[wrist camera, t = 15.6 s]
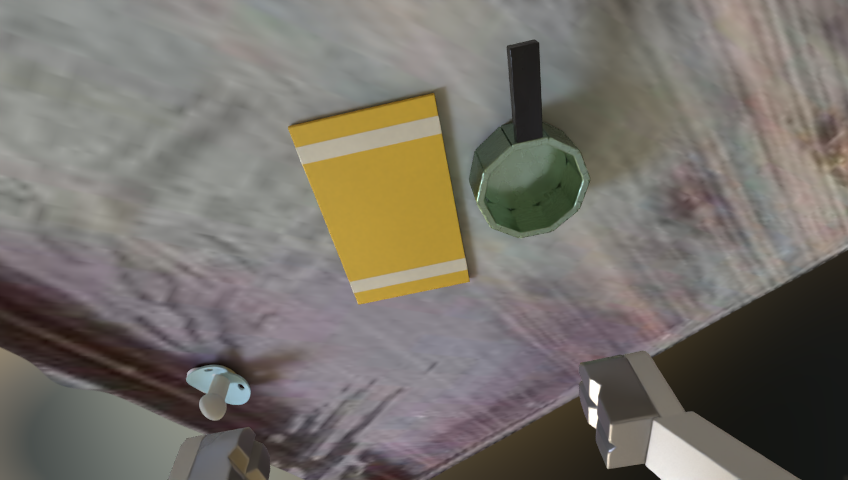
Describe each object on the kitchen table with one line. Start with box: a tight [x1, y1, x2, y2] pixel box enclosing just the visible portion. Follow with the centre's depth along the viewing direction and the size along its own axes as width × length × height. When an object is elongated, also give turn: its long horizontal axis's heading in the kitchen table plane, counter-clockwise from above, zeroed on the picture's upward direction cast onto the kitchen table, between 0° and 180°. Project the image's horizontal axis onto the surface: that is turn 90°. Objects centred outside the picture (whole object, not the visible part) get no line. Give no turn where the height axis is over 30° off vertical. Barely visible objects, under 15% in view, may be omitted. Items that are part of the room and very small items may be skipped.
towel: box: [288, 93, 470, 304], centre depth 42 cm, size 20×12×1 cm, turn 11°
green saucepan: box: [469, 40, 590, 238], centre depth 36 cm, size 16×9×4 cm, turn 11°
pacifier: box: [186, 365, 251, 420], centre depth 50 cm, size 7×6×6 cm
